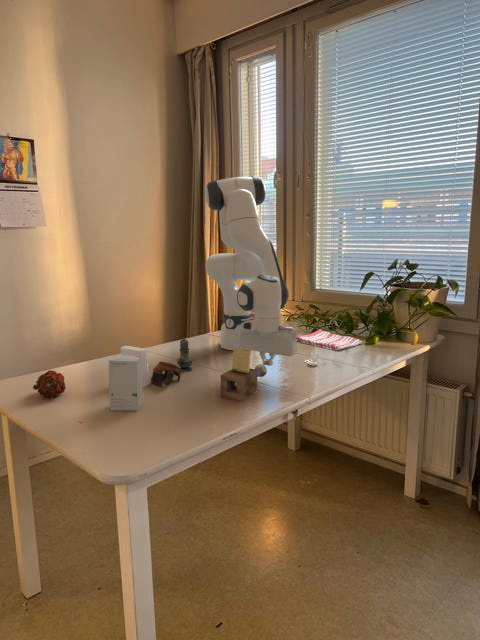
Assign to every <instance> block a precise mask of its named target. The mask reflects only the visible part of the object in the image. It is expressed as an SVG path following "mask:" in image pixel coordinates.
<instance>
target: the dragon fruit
mask: <svg viewBox="0 0 480 640" xmlns="http://www.w3.org/2000/svg"><path fill="white" fill-rule="evenodd" d="M37 379H38V380H36V381H35V383H36V384H33V385H32V389H34V390H35V391H37V393H38V394H39V395H40V396H42V397H44V398H45V397H48V398H51V399H52V398H53V399H55V398H57V396H59V395H60V394H63V393H64V392H65V389H66V388H67V387H66V382H65V376H64V375H63V374H62V373H60V372H58V373H57V371H55V370H47V371H46V372H45V373H41V374H40V376H38V378H37Z"/></svg>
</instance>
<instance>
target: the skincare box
mask: <svg viewBox="0 0 480 640" xmlns="http://www.w3.org/2000/svg"><path fill="white" fill-rule="evenodd" d="M108 388H109V390H108V391H109V394H108V395H109V396H108V397H109V410H110V411H111V412H113V411H114V412H115V411H123V412H124V411H126V412H127V411H135V412H137V411H139V410H140V407H141V406H142V404H143V395H142V393H143V390H142V388H143V387H142V373H141V356H130V355H121V354H120V355H119V354H118V355H117V354H116V355H112V357H110V358H109V360H108Z"/></svg>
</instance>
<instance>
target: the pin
mask: <svg viewBox="0 0 480 640" xmlns="http://www.w3.org/2000/svg"><path fill="white" fill-rule="evenodd" d="M254 369H256V370H257V378H258V377H259V378H262V377H264V376H266V374H267V373H268V369H267V367H266V365H263V363H262V364H261V363H260V364H259V363H258V365H256V366H255V367H254ZM232 386H233V388H235V389H237V382H234V381H233V382H232Z"/></svg>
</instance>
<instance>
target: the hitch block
mask: <svg viewBox="0 0 480 640" xmlns="http://www.w3.org/2000/svg"><path fill="white" fill-rule="evenodd" d="M233 381H234V382H237V389H235V388H233V386H232V382H233ZM256 391H257V392H258V377H257V370H256V369H255V368H251V367H250V369H249V374H246V373H241V372H235V371H232V368H231V369H230V370H228V371H225V372H224V373H221V374H220V397H221V398H224V399H227V400H233V401H236V402H242V401H244V400H246V399H247V398H249V397H250V396H252V395H253V394H255V393H257V392H256ZM254 392H255V393H254ZM251 394H252V395H251Z"/></svg>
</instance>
